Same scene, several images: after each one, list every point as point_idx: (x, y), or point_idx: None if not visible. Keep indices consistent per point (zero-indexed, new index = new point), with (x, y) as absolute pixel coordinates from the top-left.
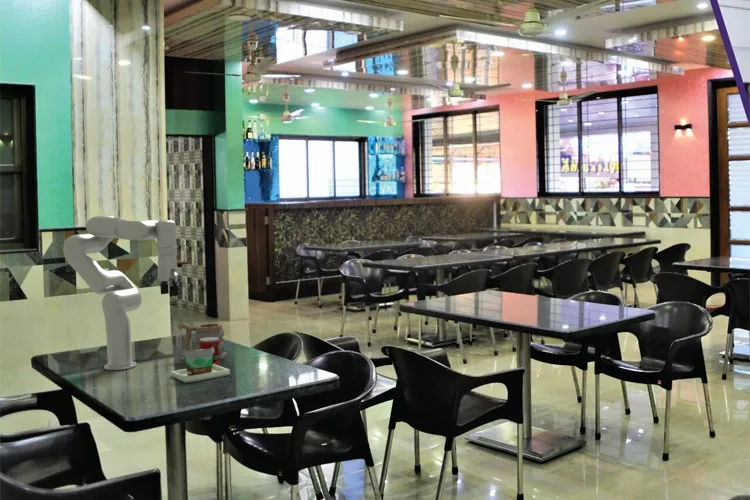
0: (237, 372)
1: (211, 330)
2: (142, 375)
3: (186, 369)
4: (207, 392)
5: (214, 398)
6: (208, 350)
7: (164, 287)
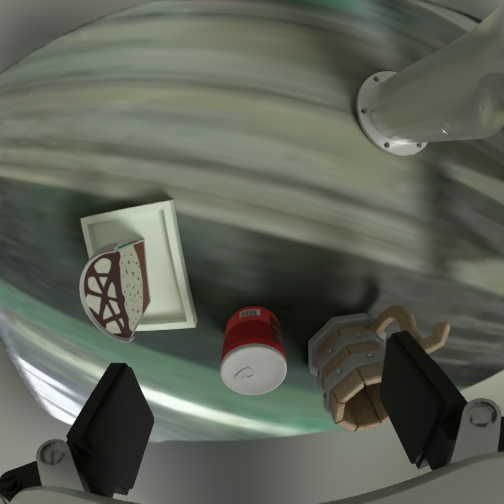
0: (133, 346)
1: (333, 400)
2: (242, 130)
3: (170, 246)
4: (9, 236)
5: None
6: (91, 315)
7: (412, 410)
